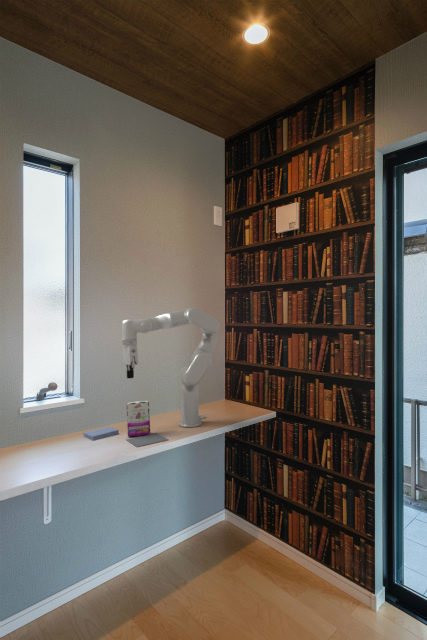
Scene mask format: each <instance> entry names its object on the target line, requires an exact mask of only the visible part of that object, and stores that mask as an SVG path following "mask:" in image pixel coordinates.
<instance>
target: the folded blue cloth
mask: <svg viewBox="0 0 427 640" xmlns="http://www.w3.org/2000/svg"><path fill="white" fill-rule="evenodd" d="M116 435H119V429H116V428H113V427H112V426H111V427H110V426H106V427H105V426H104V427H102V428H98V429H93V430H89V431H84V432H83V437H84V438H86V439H88V440H90V441H96V440H99V439H104V438H109V437H112V436H116Z"/></svg>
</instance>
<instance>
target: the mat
mask: <svg viewBox="0 0 427 640" xmlns="http://www.w3.org/2000/svg"><path fill="white" fill-rule="evenodd" d="M125 441H127V442H128V443H129V444H131V445H133V446H134V447H136V448H140V447H144V446H149V445H153V444H157V443H161V442H166V441H169V439H168V438H166V437H165V436H162V435H161V434H159V433H157V432H156V433H150V434H149V435H140V436H134V437H132V438H131V437H130V438H127V439H125Z"/></svg>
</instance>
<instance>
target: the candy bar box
mask: <svg viewBox="0 0 427 640" xmlns="http://www.w3.org/2000/svg"><path fill="white" fill-rule="evenodd" d="M150 421H151V420H150V402H149V400H139V401H131V402H129V401H128V402H126V426H127V437H128V438H129V437H130V438H131V437H132V438H133V437H140V436H145V435H150V434H151V422H150Z"/></svg>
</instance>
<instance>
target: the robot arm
mask: <svg viewBox="0 0 427 640" xmlns="http://www.w3.org/2000/svg"><path fill="white" fill-rule="evenodd" d="M121 323H122V325H121V326H122V328H121V331H122V339H121V340H122V347H123V348H122V349H123V354H122V362H123V364H125V369H126V378H127V379H134V374H135V371H134V370H135V367H136V365H138V364H139V356H138V355H139V353H138V333H139V334H140V333H141V334H147V333H149V332H154V331H158V330H165V329H167V330H168V329H173V328H177V327H182V326H186V325H192V324H193V325H194V326H196V327H198V328H199V329H200V330H201V332H202V337H201V340H200V342H199V344H198V345H197V347H196V348H195V350H194V351H193V353H192V354H191V357H190V361H191V363H190V364H189V365H188V366H184V367H182V369H181V370H180V372H179V376H178V377H179V385H180V409H181V411H180V412H181V421H179V422H178V426H179V427H181V428H195V427H199V426H202V424H203V421H202V420H206V419H207V418H208V417H207V414H204V415H203V414H200V412H199V407H200V406H199V384H200V383H201V382H202V380H203V379H204V377H205V376H206V373H207V372H208V370H209V369H210V367H211V365H212V363H213V360H212V359H213V358H212V354H213V352H214V349H215V347H216V345H217V343H218V333H217V332H218V331H219V330H220V323H219V321H218V319H216V318H214V317H213V316H211V315H210V314H208V313H206V312H204V311H203V310H202V309H200V308H198V307H190V308H185V309H180V310H175V311H170V312H166V313H163V314H161V315H157V316H152V317H148V318H142V319H141V318H140V319H124V320H122V322H121Z"/></svg>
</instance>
